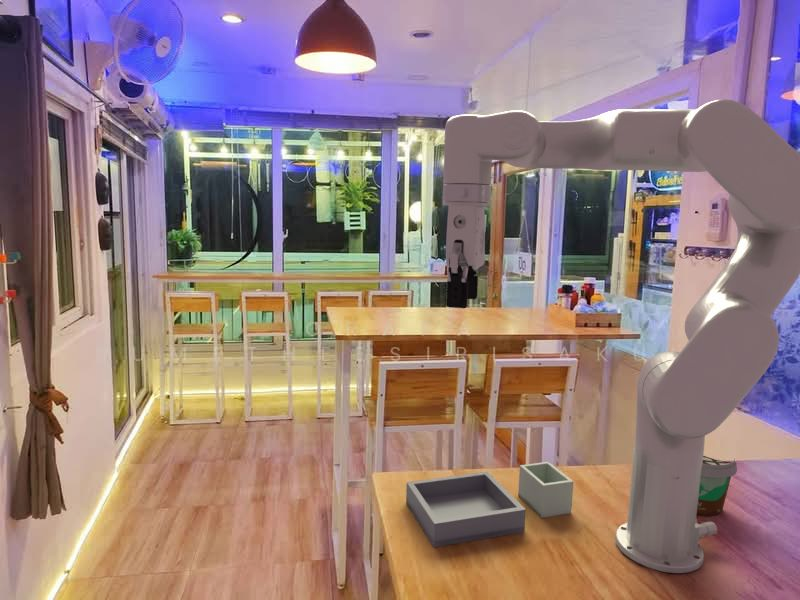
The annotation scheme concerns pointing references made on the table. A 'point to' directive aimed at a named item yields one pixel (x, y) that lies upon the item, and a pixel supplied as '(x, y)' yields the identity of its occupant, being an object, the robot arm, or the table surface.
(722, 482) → the food container
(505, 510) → the big crate
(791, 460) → the table surface
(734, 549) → the table surface
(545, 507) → the small crate
